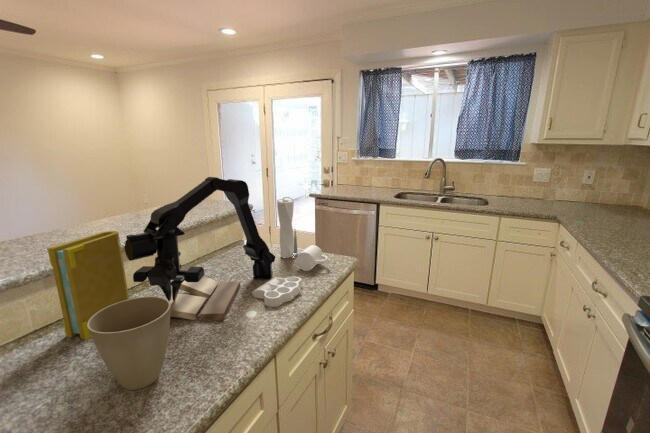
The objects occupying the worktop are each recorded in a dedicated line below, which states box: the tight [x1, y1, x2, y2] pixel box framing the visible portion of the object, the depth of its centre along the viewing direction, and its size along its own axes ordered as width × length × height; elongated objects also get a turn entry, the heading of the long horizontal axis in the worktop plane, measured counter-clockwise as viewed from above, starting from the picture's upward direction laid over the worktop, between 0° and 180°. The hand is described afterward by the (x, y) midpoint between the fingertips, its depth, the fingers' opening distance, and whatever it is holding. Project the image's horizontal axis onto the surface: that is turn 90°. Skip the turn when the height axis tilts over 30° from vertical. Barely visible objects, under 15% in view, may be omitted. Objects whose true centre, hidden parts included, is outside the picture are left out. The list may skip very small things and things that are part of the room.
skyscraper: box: [276, 196, 298, 258], centre depth 142 cm, size 8×8×28 cm
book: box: [46, 230, 130, 341], centre depth 89 cm, size 17×7×25 cm, turn 168°
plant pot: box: [87, 295, 171, 391], centre depth 68 cm, size 15×15×16 cm
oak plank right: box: [179, 275, 220, 301], centre depth 108 cm, size 11×10×2 cm
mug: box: [295, 244, 329, 272], centre depth 131 cm, size 12×10×8 cm
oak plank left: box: [165, 292, 208, 321], centre depth 96 cm, size 11×10×2 cm
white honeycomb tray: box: [252, 276, 304, 308], centre depth 108 cm, size 3×18×15 cm
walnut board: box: [197, 280, 241, 321], centre depth 103 cm, size 8×22×2 cm, turn 3°
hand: (172, 300), depth 96 cm, fingers closed
